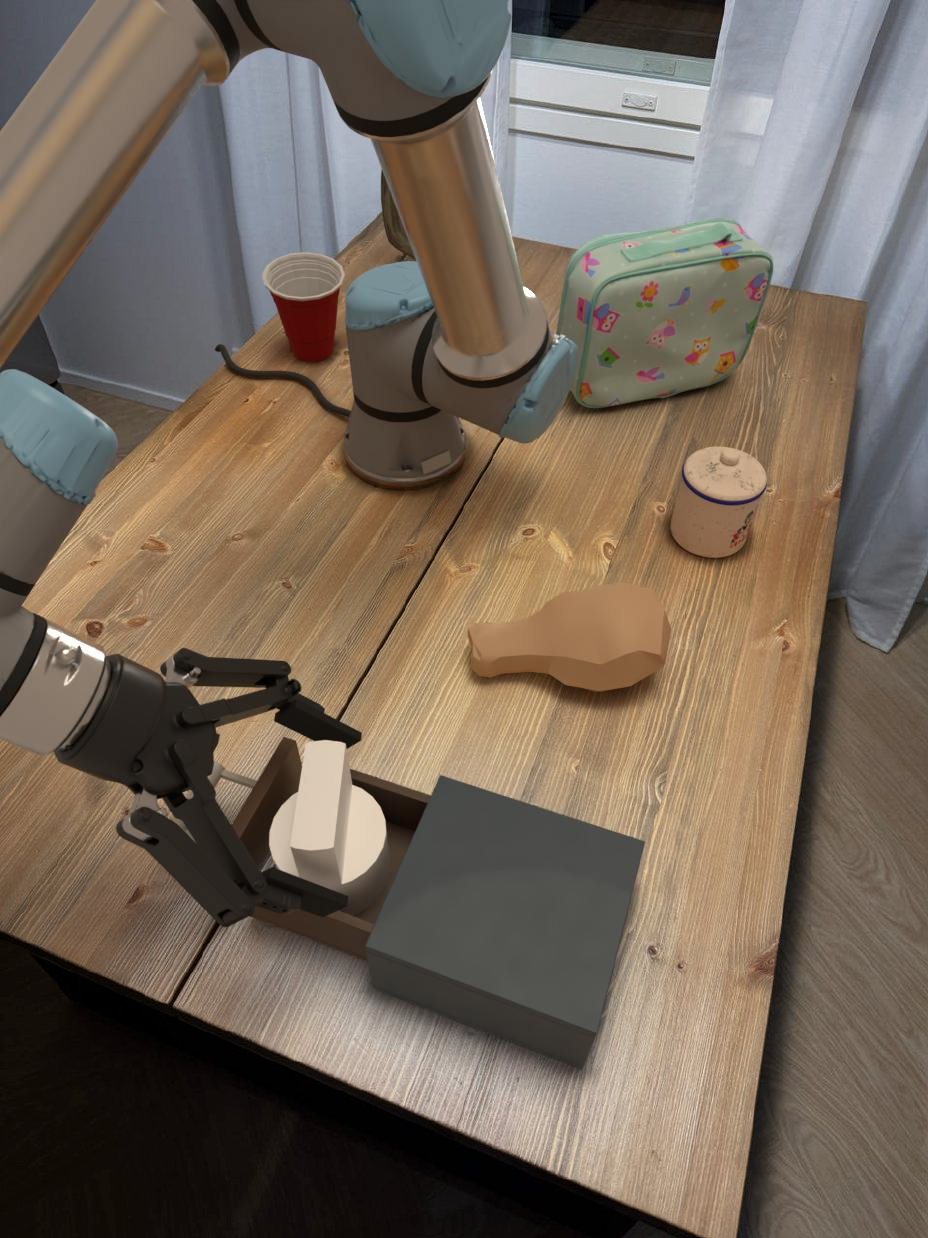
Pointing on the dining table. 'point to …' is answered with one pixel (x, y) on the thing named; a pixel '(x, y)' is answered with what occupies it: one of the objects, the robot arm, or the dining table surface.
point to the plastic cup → (306, 301)
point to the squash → (580, 639)
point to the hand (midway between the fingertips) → (344, 819)
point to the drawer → (254, 831)
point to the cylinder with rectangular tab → (332, 830)
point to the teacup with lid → (717, 501)
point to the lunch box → (662, 309)
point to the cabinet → (506, 919)
